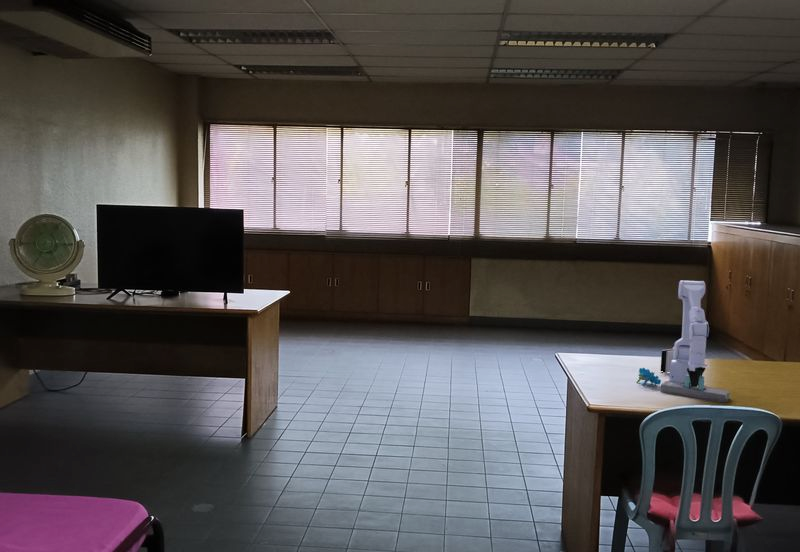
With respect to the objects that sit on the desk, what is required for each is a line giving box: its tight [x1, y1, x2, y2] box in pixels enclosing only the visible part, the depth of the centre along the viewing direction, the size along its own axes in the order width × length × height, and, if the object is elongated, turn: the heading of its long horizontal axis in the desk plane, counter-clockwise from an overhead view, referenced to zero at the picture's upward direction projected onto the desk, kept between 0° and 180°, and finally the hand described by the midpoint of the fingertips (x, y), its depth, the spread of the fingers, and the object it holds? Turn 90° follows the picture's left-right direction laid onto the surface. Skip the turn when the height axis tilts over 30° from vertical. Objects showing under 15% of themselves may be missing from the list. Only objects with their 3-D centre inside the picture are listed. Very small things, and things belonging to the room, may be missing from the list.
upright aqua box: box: [684, 374, 705, 390], centre depth 272 cm, size 6×3×6 cm, turn 53°
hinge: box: [660, 346, 675, 373], centre depth 315 cm, size 14×5×10 cm, turn 135°
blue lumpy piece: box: [636, 367, 662, 386], centre depth 287 cm, size 11×6×10 cm
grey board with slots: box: [660, 380, 731, 404], centre depth 273 cm, size 24×8×3 cm, turn 54°
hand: (695, 385), depth 272 cm, fingers closed on upright aqua box, 3 cm apart
